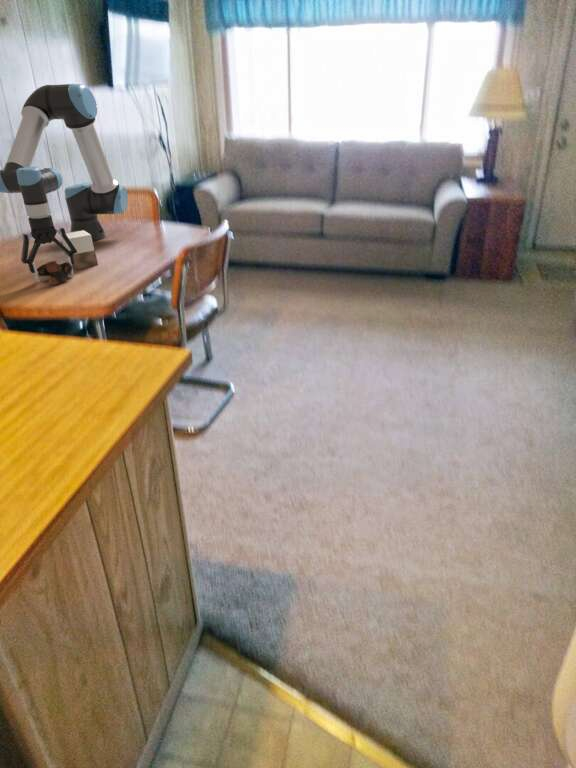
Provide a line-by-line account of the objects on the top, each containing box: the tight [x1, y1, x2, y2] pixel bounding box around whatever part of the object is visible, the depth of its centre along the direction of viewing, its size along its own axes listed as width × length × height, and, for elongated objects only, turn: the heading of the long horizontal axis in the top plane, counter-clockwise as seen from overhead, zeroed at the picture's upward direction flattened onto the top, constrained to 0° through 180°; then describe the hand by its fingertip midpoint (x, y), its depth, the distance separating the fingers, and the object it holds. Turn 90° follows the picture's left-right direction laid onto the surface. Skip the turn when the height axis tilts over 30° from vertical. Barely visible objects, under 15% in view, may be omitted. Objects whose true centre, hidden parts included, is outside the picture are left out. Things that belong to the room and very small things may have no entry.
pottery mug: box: [36, 260, 72, 286], centre depth 196 cm, size 12×10×8 cm
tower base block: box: [64, 249, 99, 271], centre depth 212 cm, size 9×9×6 cm
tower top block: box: [60, 230, 95, 254], centre depth 209 cm, size 9×9×6 cm
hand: (55, 277), depth 197 cm, fingers closed on pottery mug, 11 cm apart
